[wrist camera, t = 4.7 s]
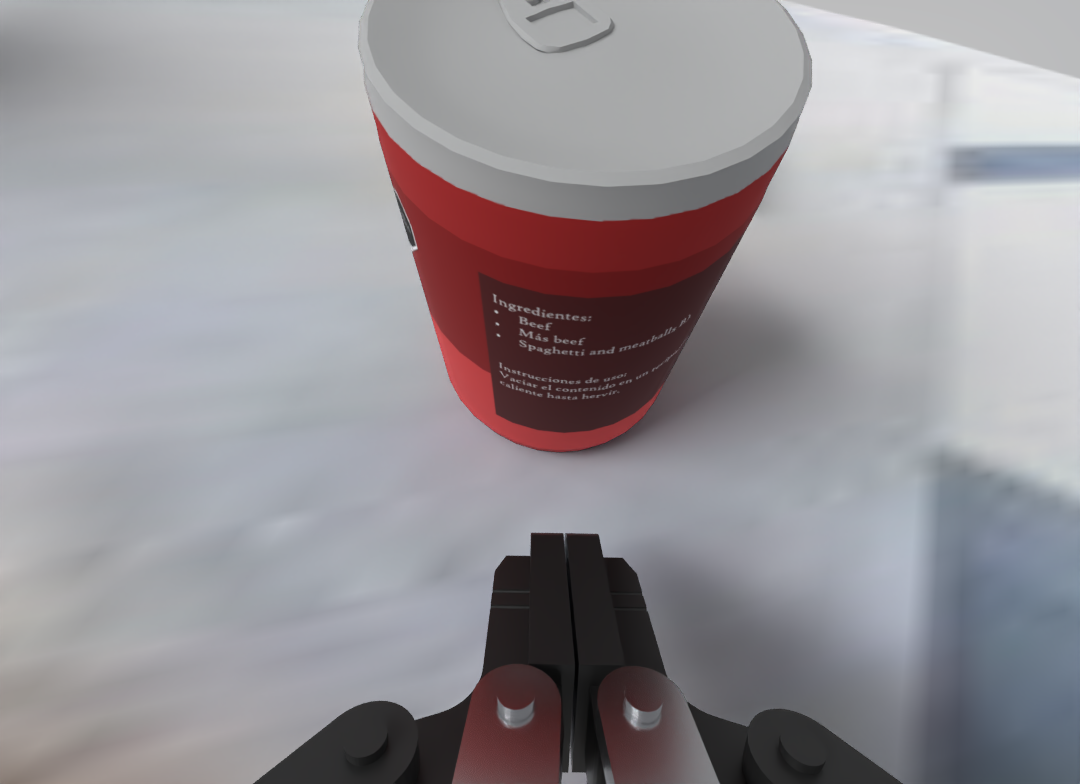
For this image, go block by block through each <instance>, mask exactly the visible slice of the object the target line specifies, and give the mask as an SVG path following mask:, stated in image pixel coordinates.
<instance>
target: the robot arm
mask: <svg viewBox="0 0 1080 784" xmlns="http://www.w3.org/2000/svg"><path fill="white" fill-rule="evenodd" d="M570 749H571V764H572V772H586V774H587V784H902V783H901V782H900V781H898V780H897V779H895V778H894V777H893V776H891V775H890V774H888V773H887V772H886V771H884V770H883V769H882V768H880V767H879V766H877V765H876V764H875V763H873V762H872V761H871V760H869V759H868V758H866V757H865V756H864V755H862V754H861V753H859V752H858V751H857V750H855V749H854V748H853V747H851V746H850V745H848V744H847V743H846V742H844V741H843V740H841V739H840V738H839V737H837V736H836V735H835V734H833V733H832V732H830V731H829V730H828V729H826V728H825V727H823V726H822V725H820V724H819V723H817V722H816V721H814V720H813V719H811V718H809V717H807V716H805V715H802V714H800V713H797V712H794V711H790V710H784V709H770V710H766V711H763V712H761V713H759V714H758V715H756V716H755V717H754V718H753V720H752V721H751V722H750V725H749V727H746V726H743V725H740V724H737V723H733V722H730V721H727V720H724V719H721V718H718V717H715V716H712V715H709V714H707V713H705V712H703V711H701V710H699V709H697V708H696V707H694V706H693V705H691V704H690V703H688V702H687V701H686V699H685V697H684V695H683V694H682V692H681V691H680V689H679V688H678V687H677V686H676V685H675V684H674V683H673V682H672V681H671V680H670V679H669V678H668V677H667V675H666V672H665V669H664V665H663V662H662V659H661V655H660V652H659V648H658V645H657V642H656V638H655V635H654V631H653V628H652V625H651V621H650V618H649V614H648V611H647V610H646V604H645V601H644V597H643V596H642V591H641V587H640V584H639V580H638V577H637V574H636V573H635V571H634V570H633V569H632V568H631V567H630V566H629V565H628V564H627V562H626V561H625V560H624V559H623V558H604V557H603V554H602V549H601V544H600V539H599V535H598V534H576V533H566V534H565V541H564V536H563V533H531V550H530V556H506V557H505V558H504V560H503V561H502V562H501V564H500V565H499V566H498V568H497V569H496V570H495V575H494V583H493V593H492V599H491V609H490V616H489V624H488V632H487V640H486V648H485V657H484V665H483V671H482V675H481V678H480V680H479V682H478V684H477V685H476V687H475V689H474V690H473V692H472V693H471V694H470V695H469V696H468V697H467V698H466V699H465V700H464V701H462V702H461V703H459V704H458V705H456V706H455V707H453V708H451V709H449V710H446V711H444V712H441V713H438V714H435V715H431V716H428V717H425V718H421V719H418V720H414V718H413V717H412V715H411V714H410V713H409V712H408V710H406V709H405V708H404V707H402V706H400V705H398V704H396V703H392V702H388V701H373V702H368V703H364V704H361V705H358V706H355V707H353V708H351V709H350V710H348V711H346V712H345V713H343V714H342V715H340V716H339V717H337V718H336V719H335V720H334V721H332V722H331V723H330V724H329V725H327V726H326V727H325V728H323V729H322V730H321V731H320V732H318V733H317V734H316V735H315V736H313V737H312V738H311V739H309V740H308V741H307V742H306V743H304V744H303V745H302V746H301V747H299V748H298V749H297V750H295V751H294V752H293V753H292V754H290V755H289V756H288V757H287V758H285V759H284V760H283V761H281V762H280V763H279V764H278V765H276V766H275V767H274V768H273V769H271V770H270V771H269V772H267V773H266V774H265V775H264V776H262V777H261V778H260V779H259V780H257V781H256V782H255V783H253V784H561V778H562V772H568V766H569V751H570Z"/></svg>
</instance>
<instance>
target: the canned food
mask: <svg viewBox="0 0 1080 784" xmlns="http://www.w3.org/2000/svg"><path fill="white" fill-rule="evenodd" d="M358 49H359V52H360V56H361V60H362V63H363V67H364V84H365V87H366V91H367V94H368V98H369V101H370V105H371V108H372V112H373V115H374V119H375V122H376V126H377V131H378V136H379V140H380V144H381V147H382V151H383V154H384V157H385V161H386V164H387V168H388V171H389V175H390V178H391V181H392V185H393V188H394V192H395V195H396V198H397V202H398V205H399V208H400V212H401V215H402V219H403V222H404V225H405V229H406V232H407V236H408V239H409V242H410V246H411V249H412V253H413V256H414V259H415V263H416V266H417V270H418V273H419V276H420V280H421V283H422V287H423V290H424V293H425V297H426V300H427V304H428V307H429V310H430V314H431V317H432V321H433V324H434V327H435V331H436V334H437V338H438V341H439V344H440V348H441V351H442V355H443V358H444V361H445V365H446V368H447V372H448V375H449V378H450V381H451V383H452V385H453V387H454V389H455V391H456V392H457V394H458V396H459V398H460V400H461V401H462V402H463V403H464V404H465V405H466V407H467V408H468V409H469V410H470V411H471V412H472V414H473V415H474V416H475V417H476V418H478V419H479V420H480V421H482V422H483V423H484V424H485V425H487V426H488V427H489V428H491V429H492V430H493V431H494V432H496V433H497V434H499V435H501V436H503V437H505V438H507V439H508V440H510V441H512V442H514V443H516V444H519V445H523V446H526V447H529V448H533V449H536V450H543V451H552V452H567V451H579V450H583V449H587V448H590V447H594V446H597V445H600V444H603V443H606V442H608V441H610V440H612V439H613V438H615V437H617V436H619V435H621V434H623V433H625V432H626V431H628V430H629V429H630V428H631V427H632V426H634V425H635V424H636V423H637V422H638V421H639V420H641V419H642V418H643V416H644V415H645V414H646V412H647V411H648V410H649V408H650V407H651V406H652V404H653V403H654V401H655V399H656V398H657V396H658V394H659V392H660V390H661V388H662V386H663V384H664V383H665V381H666V379H667V377H668V375H669V373H670V371H671V369H672V368H673V366H674V364H675V362H676V360H677V358H678V356H679V355H680V353H681V351H682V349H683V347H684V345H685V343H686V341H687V340H688V338H689V336H690V334H691V332H692V330H693V328H694V326H695V325H696V323H697V321H698V319H699V317H700V315H701V313H702V311H703V310H704V308H705V306H706V304H707V302H708V300H709V298H710V297H711V295H712V293H713V291H714V289H715V287H716V285H717V283H718V282H719V280H720V278H721V276H722V274H723V272H724V270H725V268H726V267H727V265H728V263H729V261H730V259H731V257H732V255H733V253H734V252H735V250H736V248H737V246H738V244H739V242H740V240H741V239H742V237H743V235H744V233H745V231H746V229H747V227H748V225H749V224H750V222H751V220H752V218H753V216H754V214H755V212H756V210H757V209H758V207H759V205H760V203H761V201H762V199H763V196H764V194H765V192H766V189H767V187H768V185H769V183H770V181H771V179H772V177H773V175H774V174H775V172H776V170H777V168H778V166H779V164H780V162H781V160H782V158H783V156H784V154H785V153H786V151H787V149H788V147H789V144H790V142H791V139H792V137H793V134H794V131H795V129H796V126H797V123H798V121H799V117H800V115H801V113H802V110H803V108H804V105H805V102H806V100H807V97H808V95H809V92H810V89H811V87H812V59H811V56H810V53H809V50H808V47H807V44H806V41H805V38H804V35H803V33H802V32H801V30H800V29H799V27H798V26H797V24H796V23H795V21H794V20H793V18H792V17H791V15H790V14H789V13H788V11H787V10H786V9H785V8H784V7H783V6H782V5H781V4H780V3H779V2H778V1H777V0H368V2H367V4H366V7H365V9H364V11H363V14H362V16H361V19H360V21H359V39H358Z"/></svg>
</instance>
